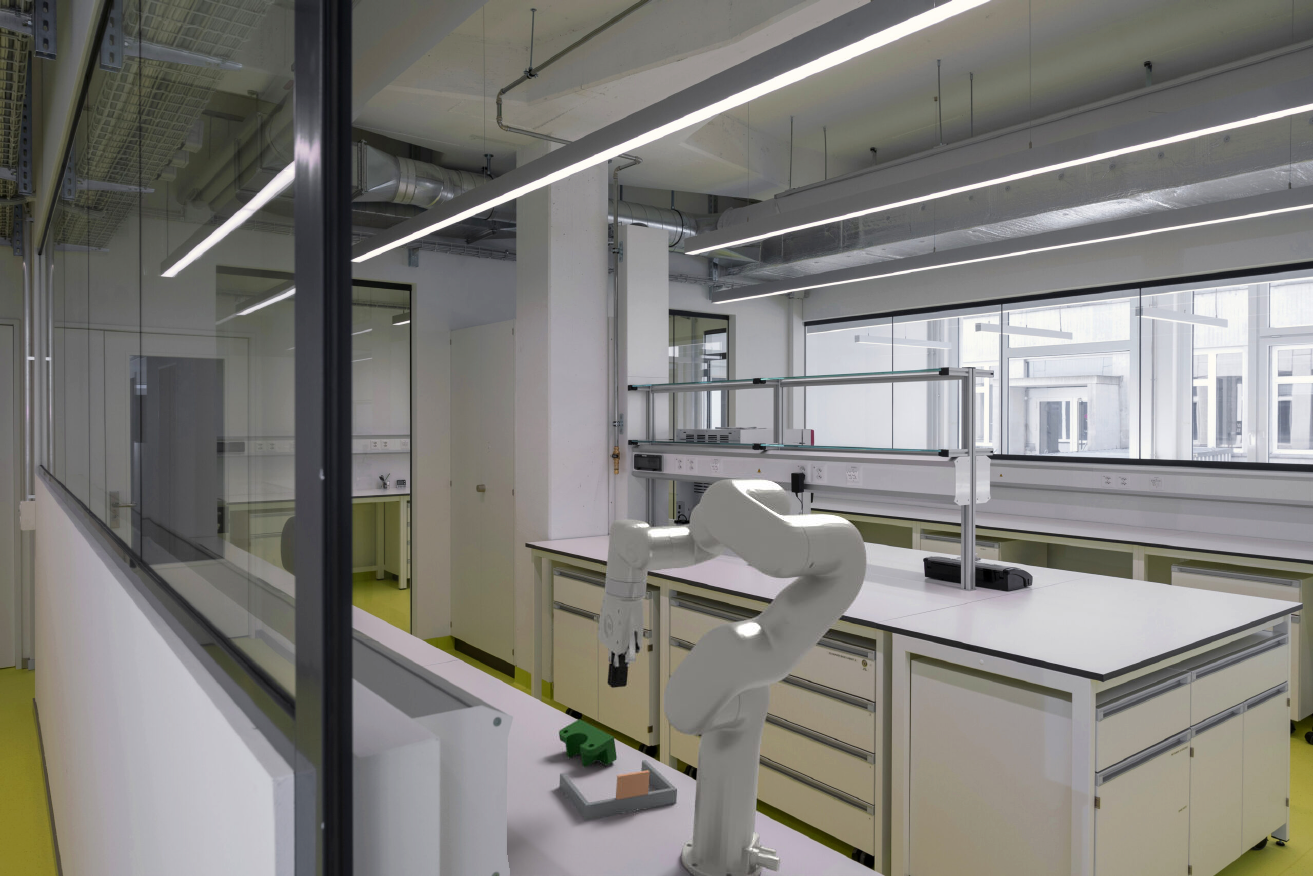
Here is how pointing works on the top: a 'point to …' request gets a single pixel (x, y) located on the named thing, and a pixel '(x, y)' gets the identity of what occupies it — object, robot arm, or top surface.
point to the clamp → (588, 743)
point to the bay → (624, 794)
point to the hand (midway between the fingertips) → (616, 685)
